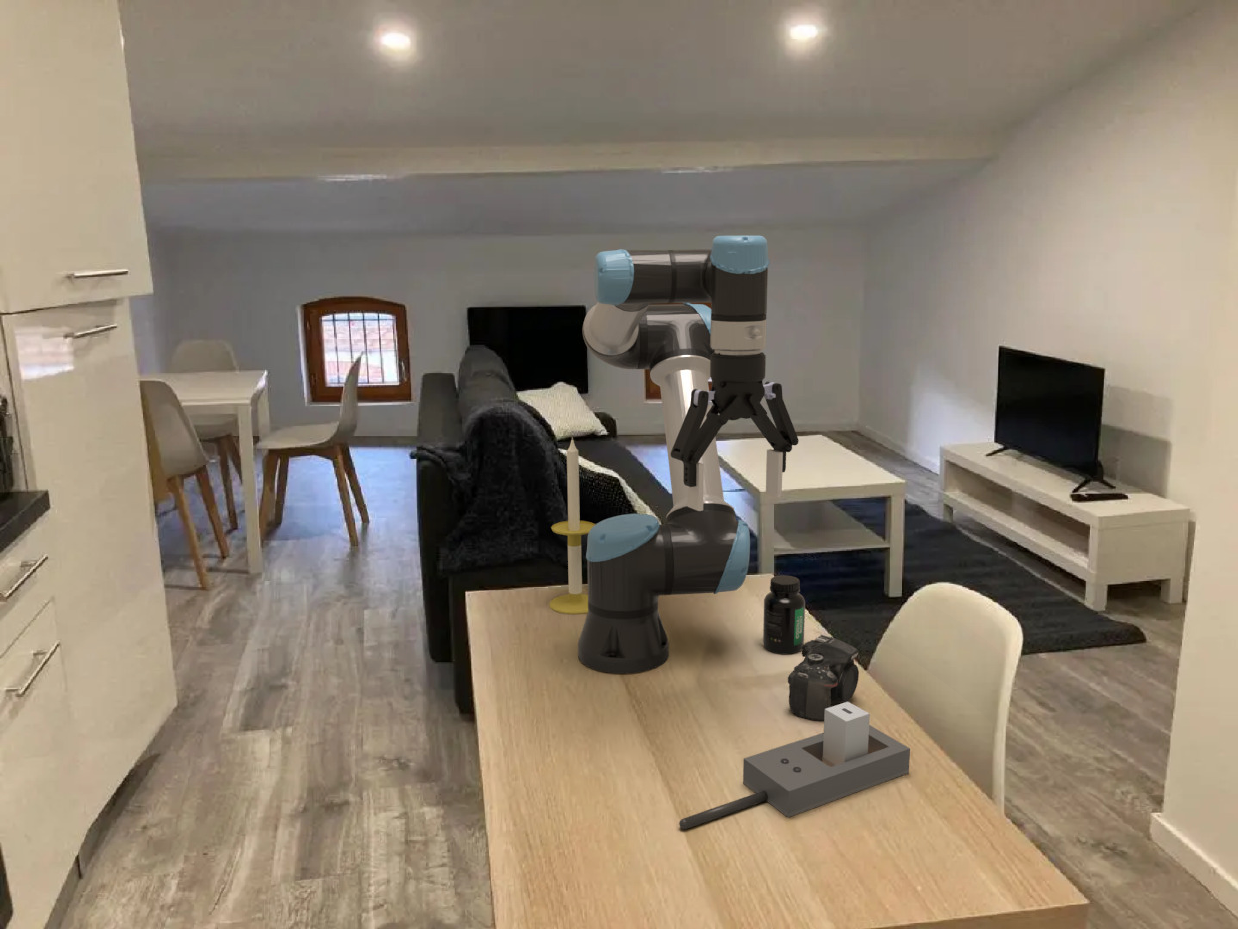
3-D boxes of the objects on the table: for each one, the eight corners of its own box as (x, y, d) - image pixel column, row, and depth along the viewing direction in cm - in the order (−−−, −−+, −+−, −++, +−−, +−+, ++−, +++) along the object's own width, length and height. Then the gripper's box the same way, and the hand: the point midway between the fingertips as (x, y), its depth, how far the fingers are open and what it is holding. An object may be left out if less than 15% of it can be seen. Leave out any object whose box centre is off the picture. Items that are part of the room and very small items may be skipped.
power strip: (701, 849, 115) (701, 821, 115) (659, 811, 123) (659, 784, 122) (908, 773, 131) (910, 747, 130) (860, 743, 139) (861, 719, 138)
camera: (855, 726, 144) (859, 661, 141) (785, 719, 146) (787, 655, 144) (858, 686, 156) (861, 626, 154) (793, 680, 159) (795, 620, 156)
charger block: (821, 765, 132) (824, 708, 130) (845, 756, 134) (847, 700, 132) (843, 779, 129) (846, 721, 127) (867, 770, 131) (870, 713, 129)
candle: (612, 603, 192) (611, 436, 184) (575, 618, 185) (571, 445, 177) (576, 591, 198) (573, 429, 191) (538, 605, 191) (533, 437, 184)
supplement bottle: (809, 653, 168) (811, 585, 166) (769, 656, 167) (771, 588, 165) (796, 637, 175) (798, 572, 172) (758, 640, 174) (759, 574, 171)
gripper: (676, 360, 128) (675, 521, 133) (826, 347, 140) (821, 495, 145) (645, 354, 134) (646, 508, 139) (792, 343, 146) (787, 484, 151)
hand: (735, 502), depth 142 cm, fingers open, 13 cm apart
